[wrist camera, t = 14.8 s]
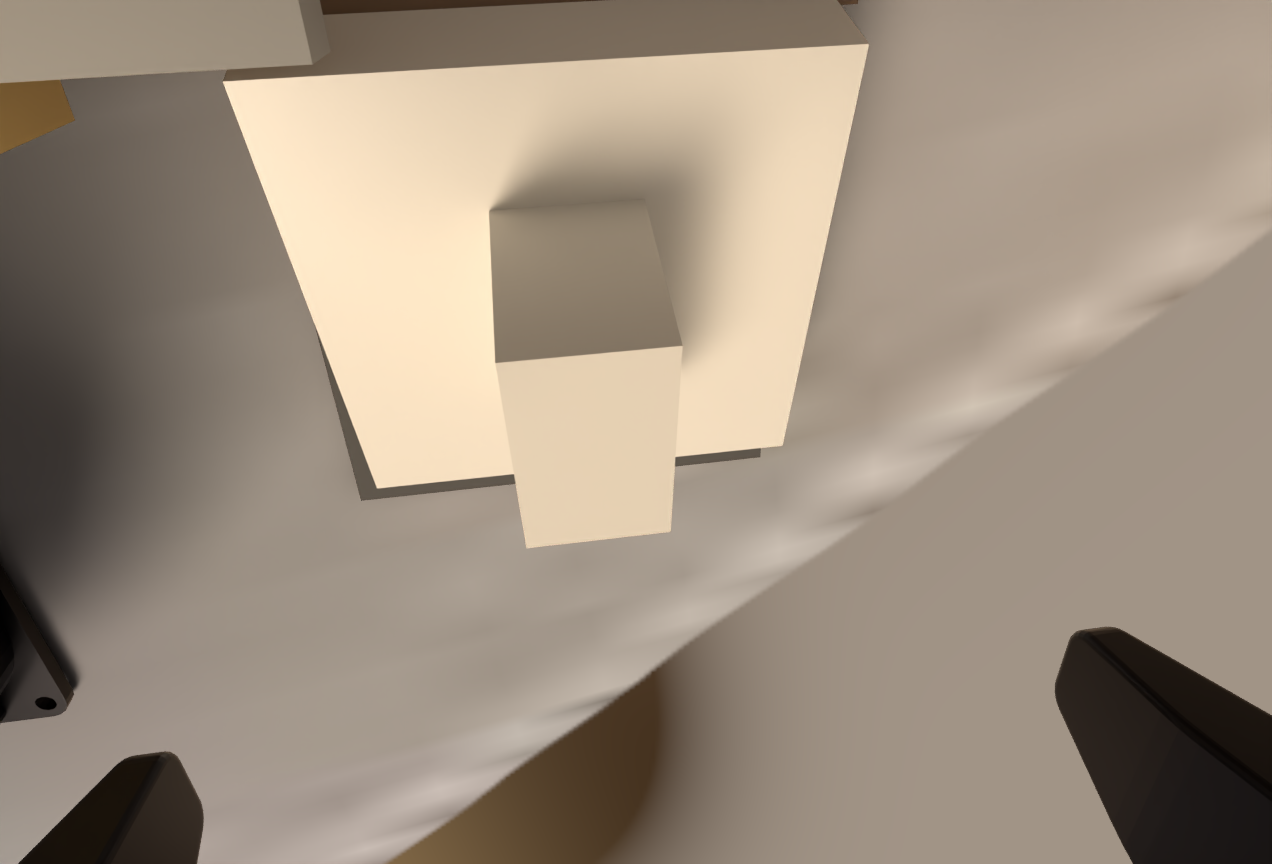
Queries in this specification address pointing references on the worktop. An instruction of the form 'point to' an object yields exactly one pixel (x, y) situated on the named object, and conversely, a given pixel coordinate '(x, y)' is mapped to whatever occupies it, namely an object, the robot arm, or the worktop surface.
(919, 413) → the worktop surface
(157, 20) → the tan rectangular block
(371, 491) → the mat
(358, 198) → the cover
